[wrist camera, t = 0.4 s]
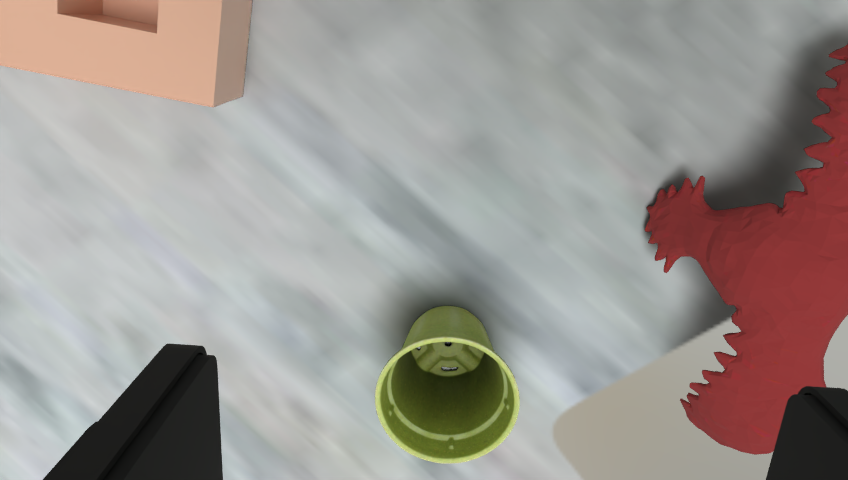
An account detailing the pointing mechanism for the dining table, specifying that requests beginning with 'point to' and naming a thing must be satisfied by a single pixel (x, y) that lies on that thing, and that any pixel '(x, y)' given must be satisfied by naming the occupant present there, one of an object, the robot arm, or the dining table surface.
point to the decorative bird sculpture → (768, 283)
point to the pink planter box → (133, 44)
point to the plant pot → (447, 390)
